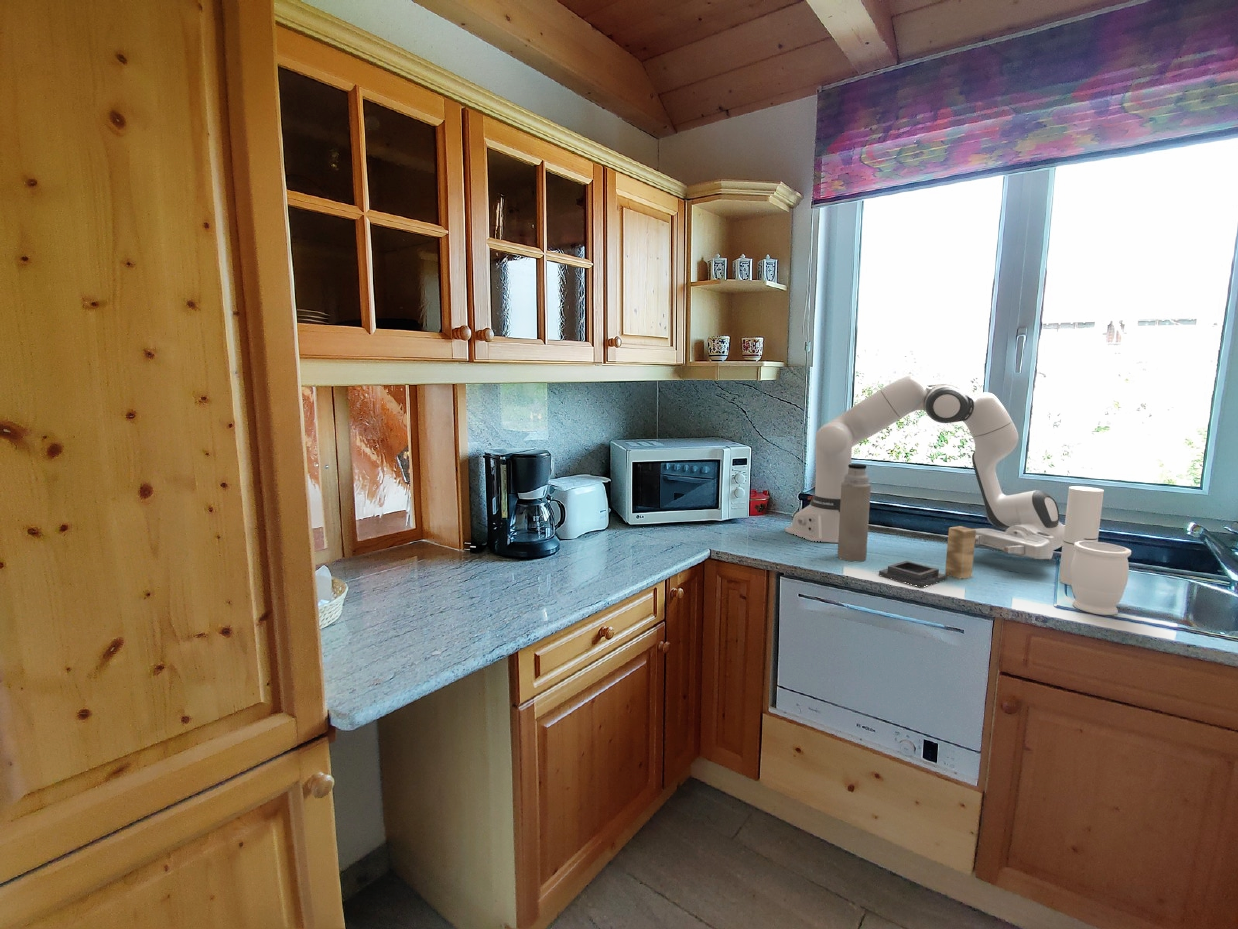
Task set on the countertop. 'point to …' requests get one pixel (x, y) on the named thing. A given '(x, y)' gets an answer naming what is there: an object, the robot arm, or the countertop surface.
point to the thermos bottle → (854, 514)
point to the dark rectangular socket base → (913, 573)
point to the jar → (1099, 576)
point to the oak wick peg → (960, 552)
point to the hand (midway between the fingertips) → (989, 545)
